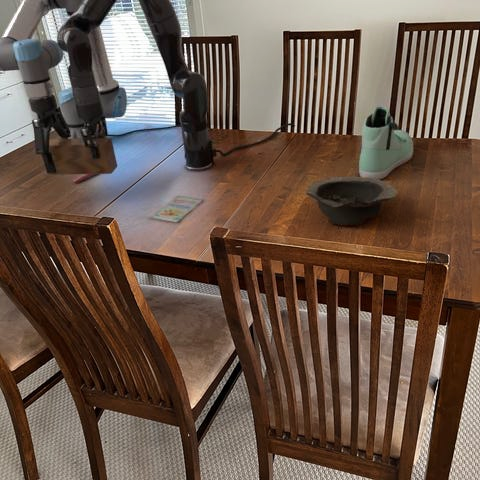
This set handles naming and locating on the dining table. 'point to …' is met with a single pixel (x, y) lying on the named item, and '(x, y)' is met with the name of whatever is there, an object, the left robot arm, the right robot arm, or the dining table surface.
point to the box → (82, 157)
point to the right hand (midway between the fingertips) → (100, 154)
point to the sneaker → (383, 145)
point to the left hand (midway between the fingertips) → (60, 165)
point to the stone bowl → (350, 198)
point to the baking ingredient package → (176, 209)
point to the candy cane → (82, 177)
